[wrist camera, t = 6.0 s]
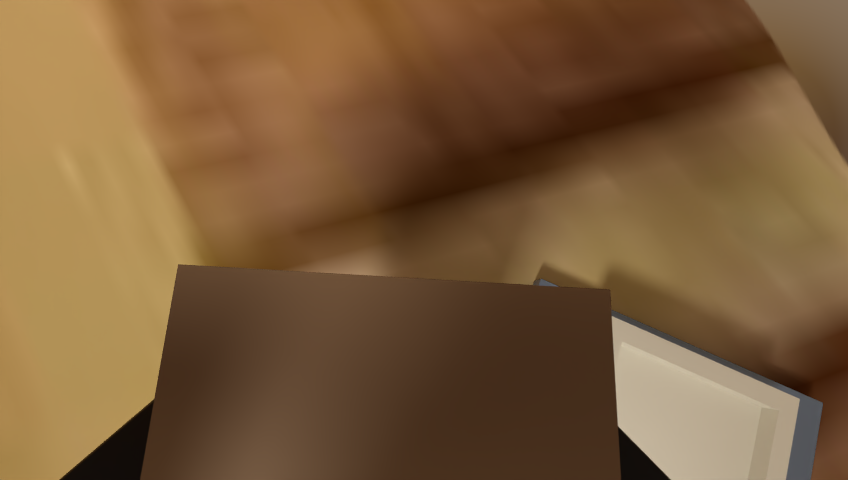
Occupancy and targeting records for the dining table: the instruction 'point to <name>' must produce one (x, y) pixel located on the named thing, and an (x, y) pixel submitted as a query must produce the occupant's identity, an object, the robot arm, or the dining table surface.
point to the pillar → (382, 380)
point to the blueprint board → (707, 410)
